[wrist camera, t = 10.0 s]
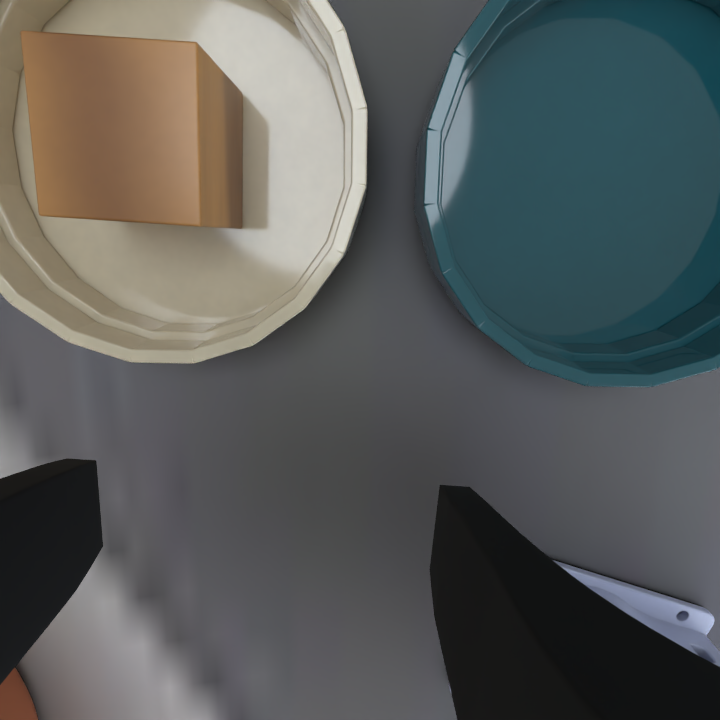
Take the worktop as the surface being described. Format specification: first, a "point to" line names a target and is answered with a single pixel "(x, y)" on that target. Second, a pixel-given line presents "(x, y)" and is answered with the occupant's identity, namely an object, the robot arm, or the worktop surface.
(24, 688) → the potted cactus
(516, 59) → the teal bowl
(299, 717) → the worktop surface
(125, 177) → the block
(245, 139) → the cream bowl
